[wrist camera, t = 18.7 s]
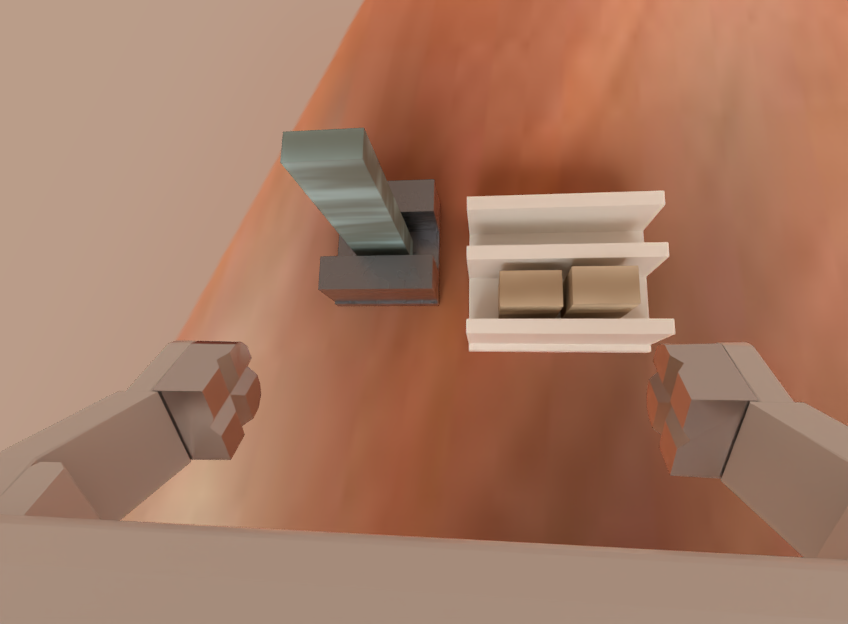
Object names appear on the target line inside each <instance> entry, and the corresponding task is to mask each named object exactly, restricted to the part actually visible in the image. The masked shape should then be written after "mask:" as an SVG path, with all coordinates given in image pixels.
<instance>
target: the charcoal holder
mask: <svg viewBox="0 0 848 624" xmlns="http://www.w3.org/2000/svg"><path fill="white" fill-rule="evenodd" d="M387 182H388V184H389V187H390V189H391V191H392V194H393V196H394V198H395V201H396V203H397V205H398V207H399V210H400V212H401V214H402V217H403V219H404V221H405V224H406V226H407V228H408V231H409V233H410V235H411V238H412V240H413V255H383V256H357V255H356V254H355V253H354V251H353V250H352V249H351V248H350V247H349V245H348V244H347V243H346V242H345V240H344V239H343V238H342V237H341V236H340V234H339V248H338V256H324V257H321V258H320V273H319V288H318V290H320V291H321V292H323V293H324V294H325V295H327V296H328V297H329V298H331V299H332V300H333V301H335V304H336V305H337V306H439V267H440V211H441V204H440V201H439V198H438V193H437V189H436V184H435V180H434V179H428V180H400V181H387Z"/></svg>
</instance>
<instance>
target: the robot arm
mask: <svg viewBox="0 0 848 624" xmlns="http://www.w3.org/2000/svg"><path fill="white" fill-rule="evenodd" d="M250 360H251V355H250V352H249V350H248V347H247V345H245V344H244V343H242V342H225V341H173V342H170V343H168V344H167V345H166V346H165V347H164V348H163V350H162V351H161V352H160V353H159V354H158V355H157V356H156V357H155V359H154V360H153V361H152V362H151V363H150V364H149V365H148V366H147V368H146V369H145V370H144V371H143V372H142V373H141V374H140V375H139V376H138V378H137V379H136V380H135V381H134V382H133V383H132V384H131V385H130V387H129V388H128V389H127V390H126V391H117V392H115V393H113V394H112V395H109V396H108V397H106V398H104V399H102V400H100V401H98V402H96V403H94V404H92V405H90V406H88V407H86V408H84V409H82V410H80V411H79V412H77V413H75V414H73V415H71V416H69V417H67V418H65V419H63V420H61V421H59V422H57V423H55V424H53V425H51V426H49V427H48V428H45V429H43V430H42V431H40V432H38V433H36V434H34V435H32V436H30V437H28V438H26V439H24V440H22V441H20V442H18V443H16V444H15V445H12V446H10V447H9V448H7V449H5V450H3V451H1V452H0V624H848V426H846V425H844V424H843V423H841V422H839V421H837V420H835V419H833V418H832V417H830V416H828V415H826V414H824V413H822V412H821V411H819V410H817V409H815V408H813V407H811V406H810V405H808V404H806V403H802V402H794V401H793V400H792V398H791V397H790V395H789V394H788V393H787V391H786V390H785V389H784V387H783V386H782V385H781V383H780V382H779V380H778V379H777V378H776V376H775V375H774V374H773V372H772V371H771V370H770V368H769V367H768V366H767V364H766V363H765V361H764V360H763V359H762V357H761V356H760V355H759V353H758V352H757V351H756V349H755V348H754V346H753V345H751V344H749V343H748V342H723V343H716V344H659V345H658V347H657V349H656V350H655V355H654V359H653V362H654V365H655V367H656V369H657V373H656V374H655V375H654V376H652V377H651V378H650V379H649V382H648V388H647V411H648V416H649V420H650V423H651V425H652V428H653V429H654V430H656V431H657V432H658V433H659V434H661V435H662V436H661V441H660V445H659V448H660V450H661V453H662V456H663V458H664V461H665V464H666V466H667V469H668V472H669V474H670V475H671V476H688V477H704V478H721V481H722V482H723V483H724V484H725V485H726V486H727V487H728V488H729V489H730V490H731V491H732V492H733V493H735V494H736V495H737V496H738V497H739V498H740V499H741V500H742V501H743V502H744V503H745V504H747V505H748V506H749V507H750V508H751V509H752V510H753V511H754V512H755V513H756V514H757V515H758V516H760V517H761V518H762V519H763V520H764V521H765V522H766V523H767V524H768V525H769V526H770V527H771V528H773V529H774V530H775V531H776V532H777V533H778V534H779V535H780V536H781V537H782V538H783V539H784V540H786V541H787V542H788V543H789V544H790V545H791V546H792V547H793V548H794V549H795V550H796V551H798V552H799V553H800V554H801V555H802V556H803V557H787V556H768V555H749V554H731V553H712V552H693V551H675V550H656V549H637V548H619V547H601V546H582V545H564V544H545V543H527V542H508V541H490V540H472V539H453V538H434V537H416V536H397V535H378V534H360V533H341V532H322V531H304V530H285V529H266V528H248V527H229V526H210V525H192V524H173V523H155V522H136V521H120V520H121V519H122V518H124V517H125V516H126V515H127V514H128V513H130V512H131V511H132V510H133V509H134V508H136V507H137V506H138V505H139V504H141V503H142V502H143V501H144V500H145V499H147V498H148V497H149V496H150V495H151V494H153V493H154V492H155V491H156V490H157V489H159V488H160V487H161V486H162V485H163V484H165V483H166V482H167V481H168V480H170V479H171V478H172V477H173V476H174V475H176V474H177V473H178V472H179V471H180V470H182V469H183V468H184V467H185V466H186V465H188V464H189V463H190V462H191V460H231V459H232V457H233V455H234V453H235V451H236V450H237V448H238V446H239V444H240V442H241V440H242V439H243V437H244V435H245V434H244V431H243V428H242V426H243V425H245V424H246V423H247V422H249V421H250V420H252V419H253V418H254V416H255V414H256V412H257V410H258V408H259V403H260V398H261V389H260V382H259V379H258V376H257V374H256V373H255V372H253V371H252V370H251V369H250V368H249V367H248V364H249V362H250Z"/></svg>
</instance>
